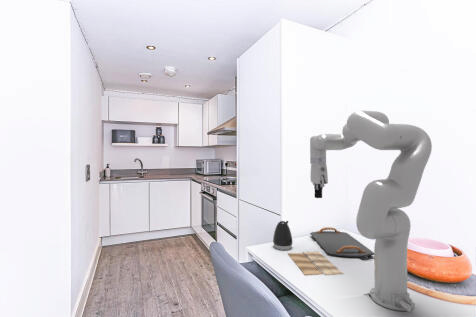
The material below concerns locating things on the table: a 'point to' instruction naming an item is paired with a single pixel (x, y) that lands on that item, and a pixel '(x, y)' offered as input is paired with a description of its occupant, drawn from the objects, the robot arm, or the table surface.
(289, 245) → the pump dispenser
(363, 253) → the serving board
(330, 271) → the laid boards
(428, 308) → the table surface
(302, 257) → the plank
